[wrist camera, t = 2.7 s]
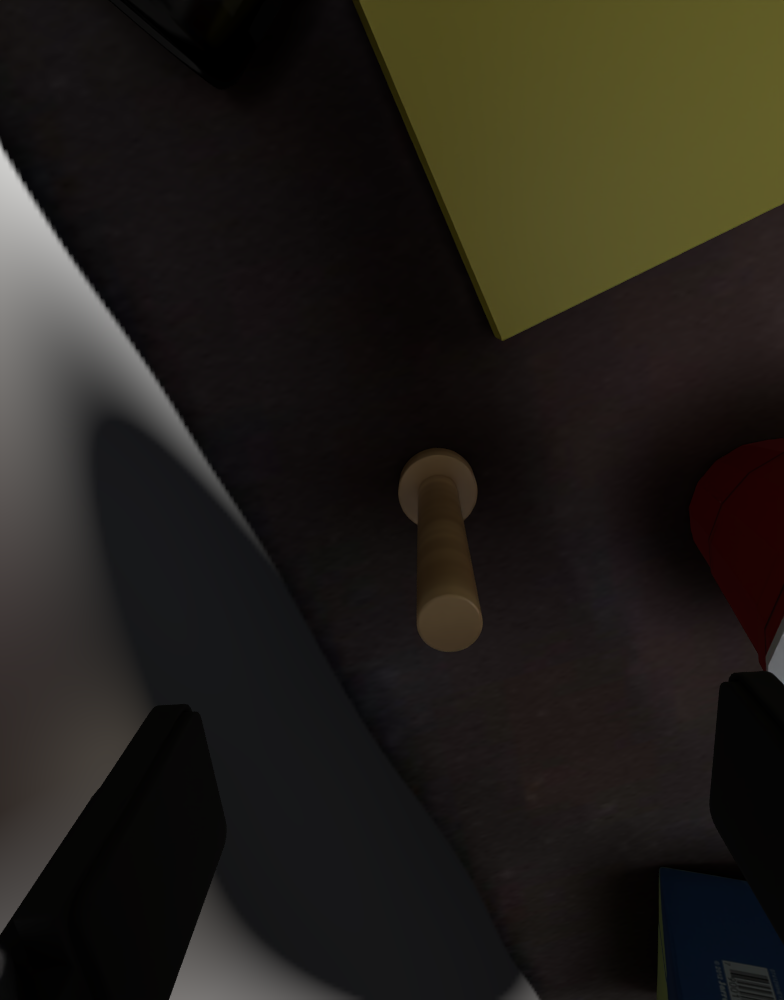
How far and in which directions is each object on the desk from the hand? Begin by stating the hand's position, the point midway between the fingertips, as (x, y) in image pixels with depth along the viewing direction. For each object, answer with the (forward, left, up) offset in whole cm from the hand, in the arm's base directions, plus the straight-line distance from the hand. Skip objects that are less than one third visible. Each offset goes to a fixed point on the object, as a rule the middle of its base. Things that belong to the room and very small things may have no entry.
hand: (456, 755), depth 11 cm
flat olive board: (-16, +12, -15) cm, 25 cm away
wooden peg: (0, 0, -15) cm, 15 cm away
